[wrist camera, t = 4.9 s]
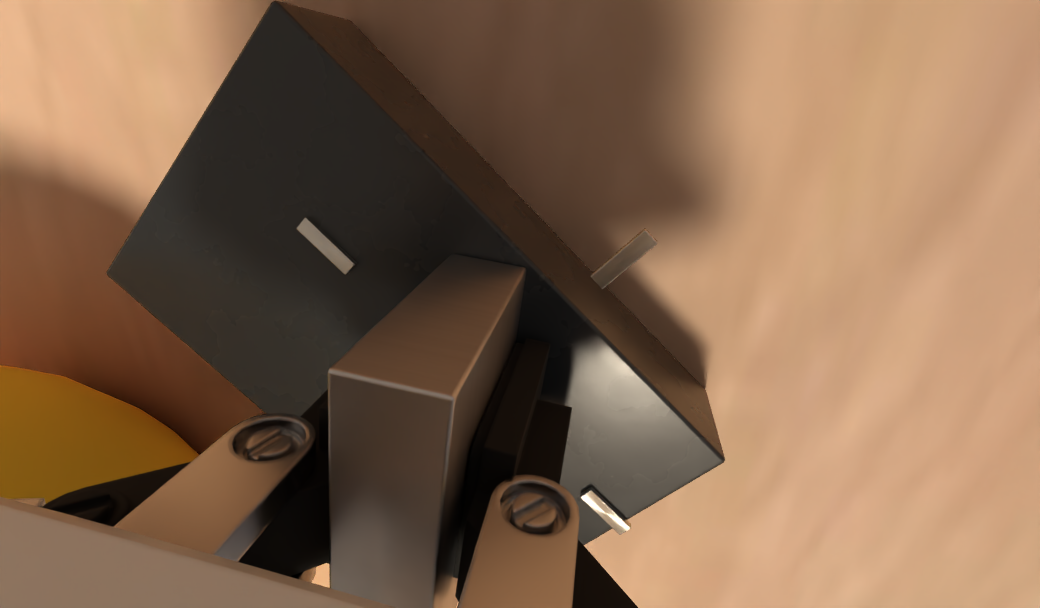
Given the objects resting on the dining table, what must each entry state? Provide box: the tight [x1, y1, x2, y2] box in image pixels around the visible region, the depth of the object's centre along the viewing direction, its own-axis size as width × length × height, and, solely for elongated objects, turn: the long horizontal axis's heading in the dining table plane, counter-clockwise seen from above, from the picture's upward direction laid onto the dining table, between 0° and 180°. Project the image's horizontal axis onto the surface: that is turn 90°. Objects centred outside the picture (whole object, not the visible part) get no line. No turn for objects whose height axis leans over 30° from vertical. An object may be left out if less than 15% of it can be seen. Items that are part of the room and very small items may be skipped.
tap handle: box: [328, 254, 526, 608], centre depth 9 cm, size 6×2×5 cm, turn 172°
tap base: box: [107, 0, 725, 545], centre depth 13 cm, size 13×10×3 cm
